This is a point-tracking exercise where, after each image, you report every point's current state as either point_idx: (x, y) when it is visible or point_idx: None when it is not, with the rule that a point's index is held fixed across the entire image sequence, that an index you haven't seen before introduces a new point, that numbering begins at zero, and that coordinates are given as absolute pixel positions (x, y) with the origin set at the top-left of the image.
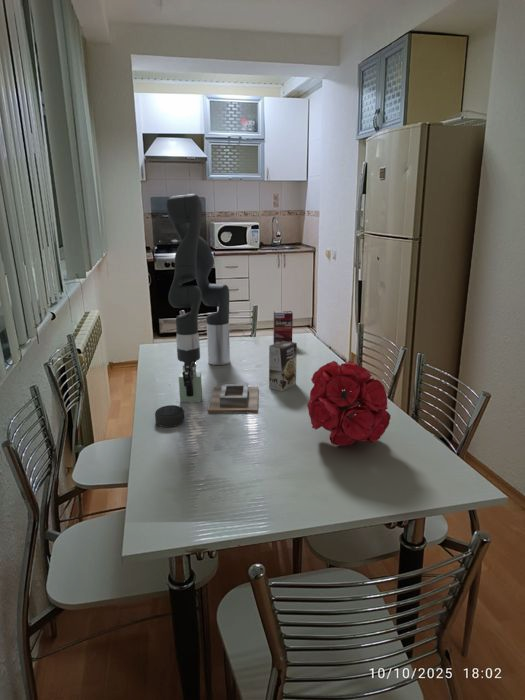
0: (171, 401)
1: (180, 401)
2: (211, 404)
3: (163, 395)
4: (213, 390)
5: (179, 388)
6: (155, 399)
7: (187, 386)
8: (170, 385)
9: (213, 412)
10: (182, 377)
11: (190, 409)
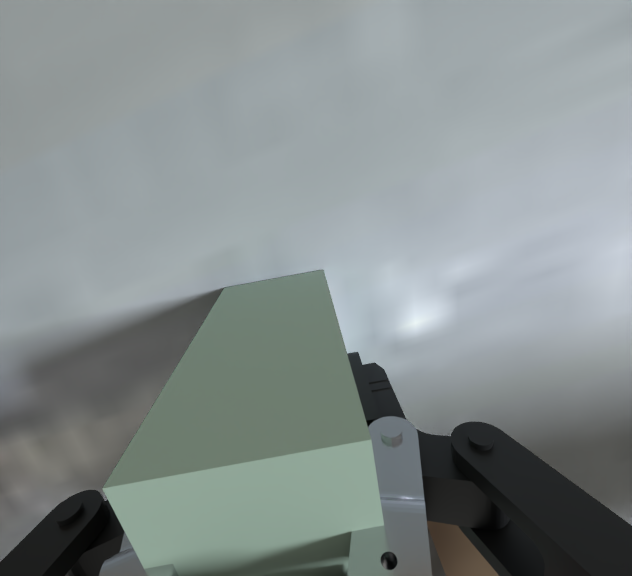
0: (215, 207)
1: (224, 290)
2: None
3: (342, 61)
4: None
5: (188, 349)
6: (221, 6)
7: None
8: (624, 32)
9: None
10: (138, 536)
11: (112, 404)
